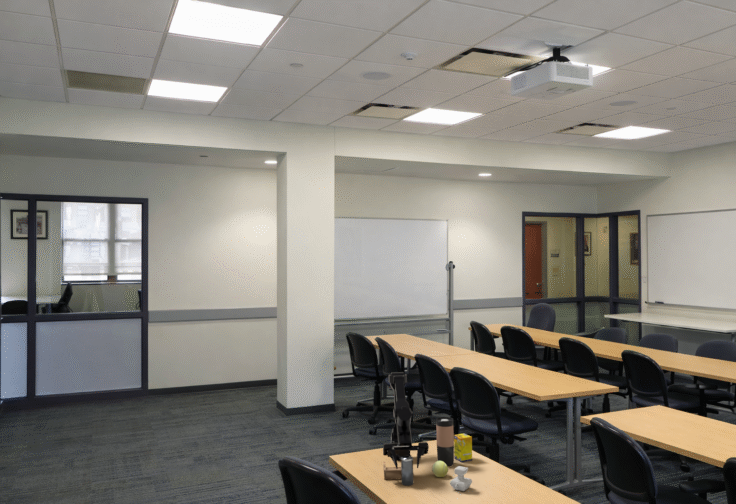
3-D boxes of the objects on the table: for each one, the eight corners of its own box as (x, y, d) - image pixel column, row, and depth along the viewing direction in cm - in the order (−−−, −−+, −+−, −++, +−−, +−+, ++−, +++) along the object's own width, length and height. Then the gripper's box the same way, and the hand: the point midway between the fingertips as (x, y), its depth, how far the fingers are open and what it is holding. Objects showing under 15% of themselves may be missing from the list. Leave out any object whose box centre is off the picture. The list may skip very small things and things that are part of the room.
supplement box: (454, 458, 271) (453, 434, 271) (465, 456, 273) (464, 433, 274) (461, 462, 265) (460, 438, 266) (472, 460, 268) (472, 436, 268)
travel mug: (454, 461, 267) (453, 416, 268) (454, 467, 260) (453, 421, 260) (436, 461, 268) (436, 416, 269) (437, 467, 261) (436, 421, 261)
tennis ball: (448, 458, 252) (433, 457, 253) (446, 466, 245) (430, 464, 247) (449, 472, 252) (433, 471, 254) (447, 480, 246) (431, 479, 248)
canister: (410, 480, 245) (409, 454, 246) (415, 484, 241) (415, 458, 241) (399, 482, 244) (398, 456, 244) (404, 486, 239) (403, 460, 239)
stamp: (458, 483, 241) (458, 463, 241) (473, 487, 237) (473, 466, 237) (448, 491, 233) (447, 469, 233) (463, 494, 229) (463, 472, 230)
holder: (383, 470, 258) (383, 461, 258) (408, 469, 258) (408, 461, 258) (384, 479, 247) (384, 470, 247) (410, 478, 247) (410, 470, 247)
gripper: (424, 441, 258) (428, 476, 247) (381, 443, 257) (383, 478, 246) (426, 428, 250) (431, 463, 239) (382, 430, 250) (384, 465, 238)
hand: (407, 468), depth 241 cm, fingers open, 8 cm apart
